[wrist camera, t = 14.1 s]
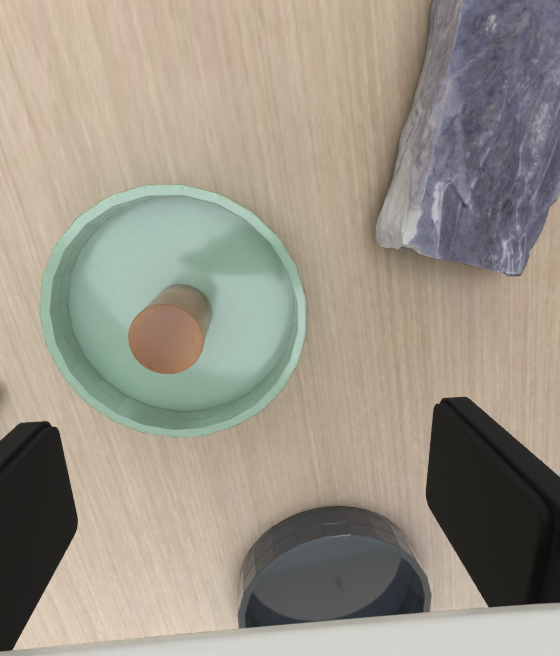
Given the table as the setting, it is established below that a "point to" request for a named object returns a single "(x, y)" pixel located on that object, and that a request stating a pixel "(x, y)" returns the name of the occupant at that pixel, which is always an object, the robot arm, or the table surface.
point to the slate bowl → (330, 571)
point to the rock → (480, 136)
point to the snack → (171, 329)
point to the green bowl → (147, 282)
